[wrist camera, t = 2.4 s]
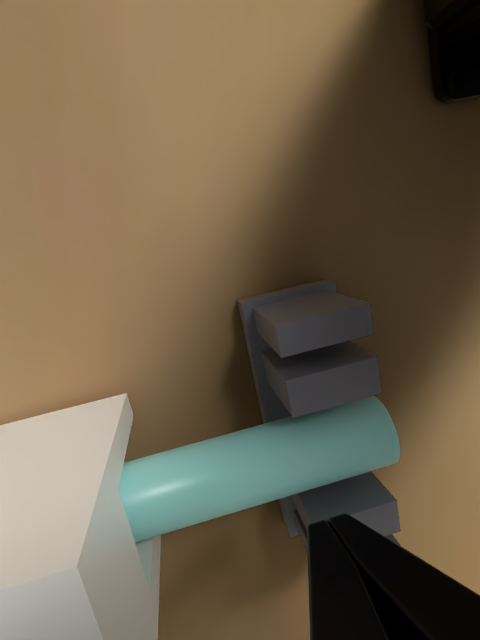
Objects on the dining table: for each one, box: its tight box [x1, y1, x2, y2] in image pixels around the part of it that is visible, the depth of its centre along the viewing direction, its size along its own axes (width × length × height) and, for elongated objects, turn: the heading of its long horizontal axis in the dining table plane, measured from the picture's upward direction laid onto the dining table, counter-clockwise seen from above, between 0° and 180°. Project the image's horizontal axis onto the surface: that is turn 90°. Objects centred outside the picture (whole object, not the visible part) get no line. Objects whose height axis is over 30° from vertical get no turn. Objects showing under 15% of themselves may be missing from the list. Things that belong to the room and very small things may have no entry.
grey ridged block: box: [237, 279, 401, 553], centre depth 12 cm, size 3×8×4 cm, turn 12°
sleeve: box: [0, 393, 161, 640], centre depth 9 cm, size 5×4×7 cm
